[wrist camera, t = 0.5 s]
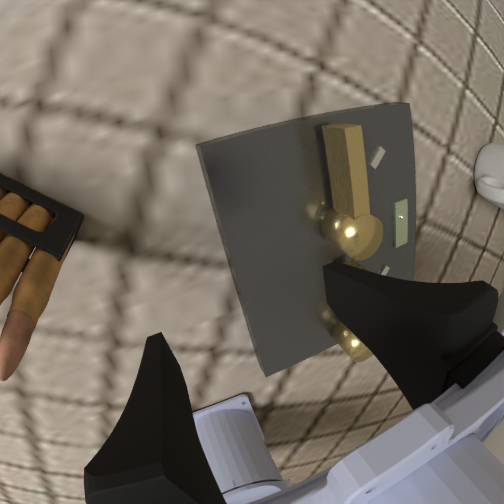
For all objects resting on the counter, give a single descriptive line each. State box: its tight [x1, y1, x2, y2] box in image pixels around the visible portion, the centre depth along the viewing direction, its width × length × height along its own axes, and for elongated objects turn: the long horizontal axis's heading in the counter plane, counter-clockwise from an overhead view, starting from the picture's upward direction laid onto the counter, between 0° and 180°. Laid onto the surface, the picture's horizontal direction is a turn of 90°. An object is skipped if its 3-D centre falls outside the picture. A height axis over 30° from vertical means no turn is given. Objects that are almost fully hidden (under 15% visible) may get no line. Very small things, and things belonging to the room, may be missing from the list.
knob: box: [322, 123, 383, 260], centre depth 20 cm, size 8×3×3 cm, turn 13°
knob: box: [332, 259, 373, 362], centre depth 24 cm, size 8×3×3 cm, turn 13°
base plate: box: [195, 102, 416, 377], centre depth 24 cm, size 19×16×2 cm
